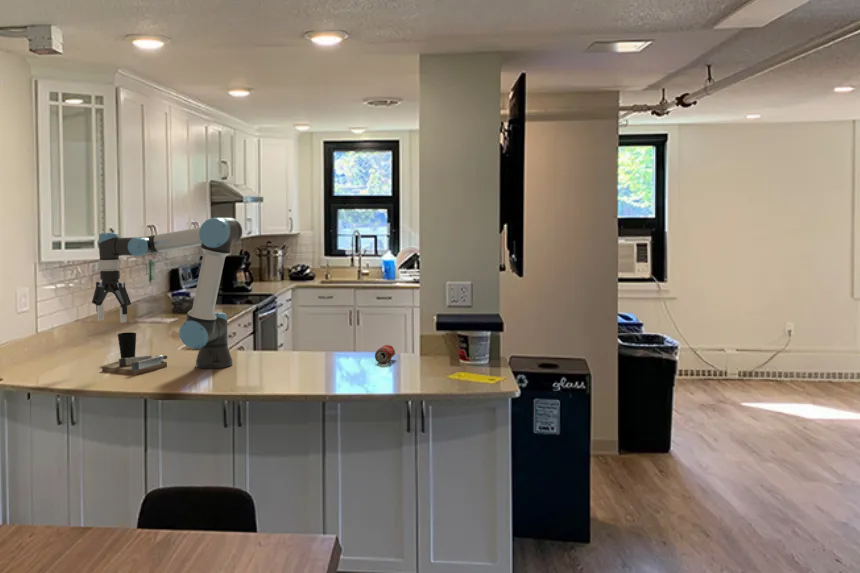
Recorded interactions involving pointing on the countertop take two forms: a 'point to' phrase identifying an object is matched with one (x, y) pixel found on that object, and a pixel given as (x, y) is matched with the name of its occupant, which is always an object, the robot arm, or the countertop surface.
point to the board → (128, 369)
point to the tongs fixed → (148, 362)
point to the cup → (127, 344)
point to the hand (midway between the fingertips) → (112, 321)
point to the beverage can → (384, 354)
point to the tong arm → (132, 360)
